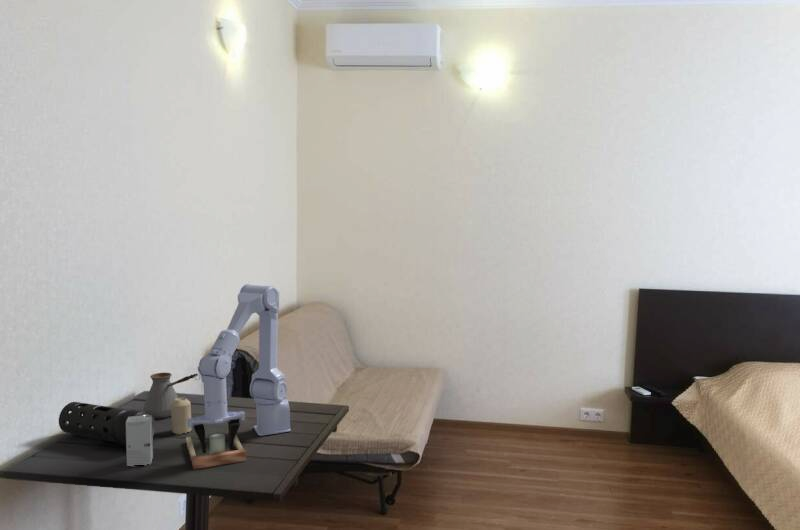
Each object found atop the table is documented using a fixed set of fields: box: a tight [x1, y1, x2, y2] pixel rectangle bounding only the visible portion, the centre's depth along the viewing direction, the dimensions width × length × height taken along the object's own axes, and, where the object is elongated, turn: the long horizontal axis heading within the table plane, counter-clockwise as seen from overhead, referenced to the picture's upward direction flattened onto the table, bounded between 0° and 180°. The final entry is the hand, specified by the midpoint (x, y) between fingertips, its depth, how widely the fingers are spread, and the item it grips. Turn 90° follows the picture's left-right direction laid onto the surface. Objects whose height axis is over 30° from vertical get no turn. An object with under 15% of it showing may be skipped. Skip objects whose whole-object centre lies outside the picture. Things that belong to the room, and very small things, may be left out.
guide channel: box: [185, 434, 248, 470], centre depth 180 cm, size 13×20×2 cm
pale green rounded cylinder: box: [208, 433, 226, 454], centre depth 175 cm, size 4×4×6 cm
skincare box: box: [125, 415, 154, 467], centre depth 172 cm, size 6×4×12 cm
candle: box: [170, 397, 193, 435], centre depth 195 cm, size 6×6×10 cm
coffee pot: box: [143, 372, 201, 419], centre depth 209 cm, size 21×12×15 cm, turn 64°
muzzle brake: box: [58, 401, 157, 447], centre depth 188 cm, size 10×28×10 cm, turn 67°
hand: (217, 449), depth 175 cm, fingers open, 6 cm apart
